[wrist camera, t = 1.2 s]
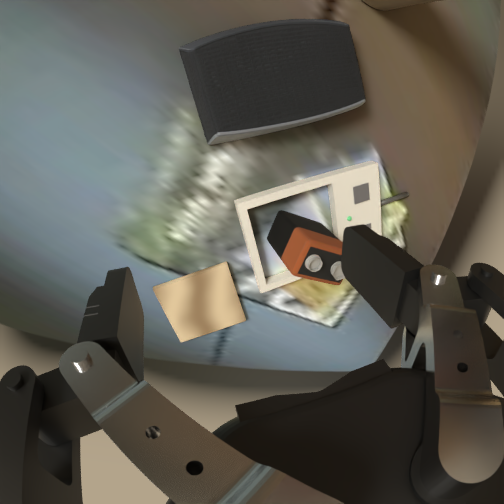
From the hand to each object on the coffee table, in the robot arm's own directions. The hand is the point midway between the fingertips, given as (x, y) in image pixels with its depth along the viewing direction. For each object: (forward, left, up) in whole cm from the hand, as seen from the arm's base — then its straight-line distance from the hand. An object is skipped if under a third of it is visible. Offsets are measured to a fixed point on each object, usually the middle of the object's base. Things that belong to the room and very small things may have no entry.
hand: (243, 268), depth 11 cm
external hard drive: (-12, -6, -25) cm, 29 cm away
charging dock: (-16, +13, -25) cm, 32 cm away
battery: (-10, +13, -25) cm, 30 cm away
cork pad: (+5, +19, -25) cm, 32 cm away
